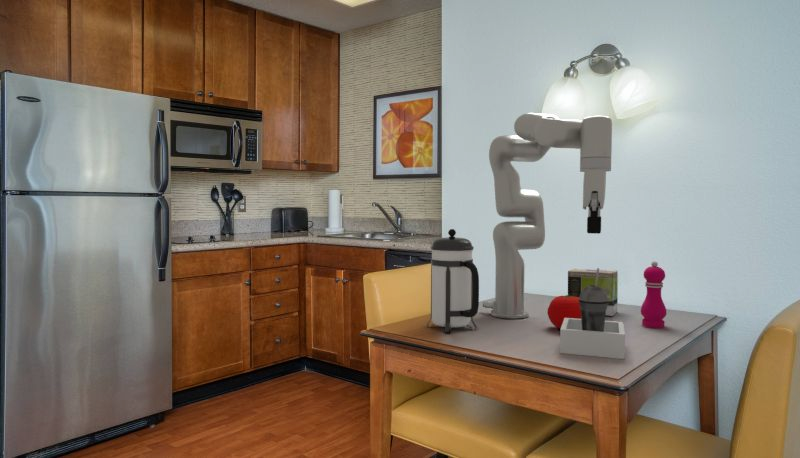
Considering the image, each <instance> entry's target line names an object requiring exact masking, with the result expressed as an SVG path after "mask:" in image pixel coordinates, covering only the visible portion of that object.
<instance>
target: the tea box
mask: <svg viewBox="0 0 800 458" xmlns="http://www.w3.org/2000/svg"><path fill="white" fill-rule="evenodd" d="M596 274H597V268H595V269H592V268H572V269H570V270H568V271H567V295H568V294H569V295H570V296H574V297H576V296H577V297H579V296H580V293H581V291H582V290H583V289H584V288H585V287H587V286H590V285H595V282H596ZM618 274H619V273H618V270H616V269H611V270H610V269H599V275H598V282H597V286H599V287H601V288H602V289H603V290H604V291H605V292H606V294H607V298H608V304H607V310H606V314H605V316H608V317H609V316H610V317H614V315H616V313H617V312H618V295H619V294H618V291H619V290H618V289H619V288H618V282H619V281H618V277H619V275H618Z"/></svg>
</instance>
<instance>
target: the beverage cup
mask: <svg viewBox="0 0 800 458" xmlns="http://www.w3.org/2000/svg"><path fill="white" fill-rule="evenodd" d="M596 269H597V274H596V282H595V285H590V286H587V287H585V288H584V289H583V290H582V291H581V293H580V296H579V305H580V309H581V322H582V330H587V331H600V332H604V324H605V321H606V315H605V314H606V310H607V304H608V298H607V294H606V292H605V291H604V290H603V289H602V288H601V287H599V286H597V282H598V275H599V270H600V268H596Z"/></svg>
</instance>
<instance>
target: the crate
mask: <svg viewBox="0 0 800 458" xmlns="http://www.w3.org/2000/svg"><path fill="white" fill-rule="evenodd" d="M559 329H560V328H559ZM559 343H560V344H559V354H564V355H565V354H566V355H576V356H577V355H578V356H587V357H599V358H608V359H620V360H625V356H626V353H625V352H626V351H625V350H626V348H625V347H626V332H625V326H624V321H614V320H613V321H612V320H605V324H604V332H600V331H587V330H582V322H581V319H575V318H564V321H563V324H562V326H561V329H560V336H559Z"/></svg>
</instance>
